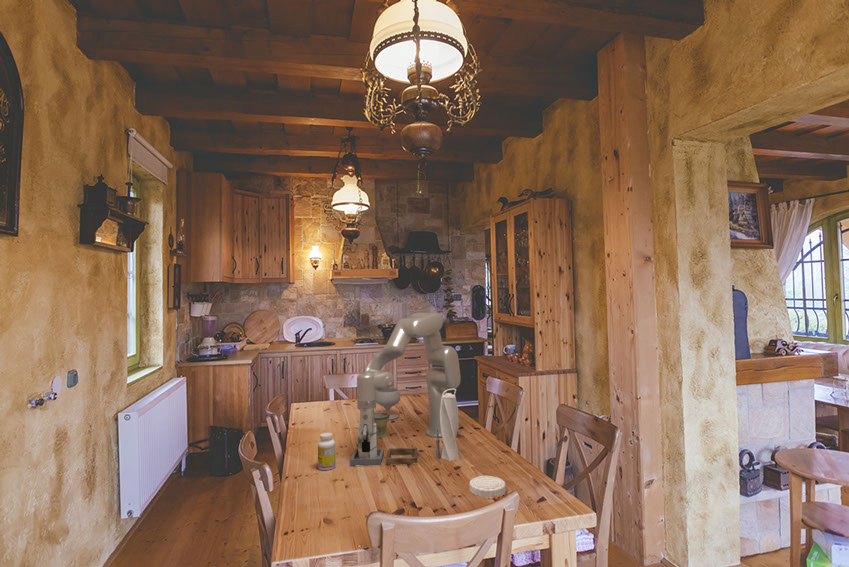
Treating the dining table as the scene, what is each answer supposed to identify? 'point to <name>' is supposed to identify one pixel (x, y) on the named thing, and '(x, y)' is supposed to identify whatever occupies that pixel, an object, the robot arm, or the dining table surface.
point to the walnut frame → (401, 452)
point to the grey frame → (367, 459)
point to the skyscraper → (448, 427)
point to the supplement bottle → (326, 452)
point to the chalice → (388, 400)
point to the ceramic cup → (381, 423)
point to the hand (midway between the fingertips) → (367, 447)
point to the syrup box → (372, 445)
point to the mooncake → (487, 486)
